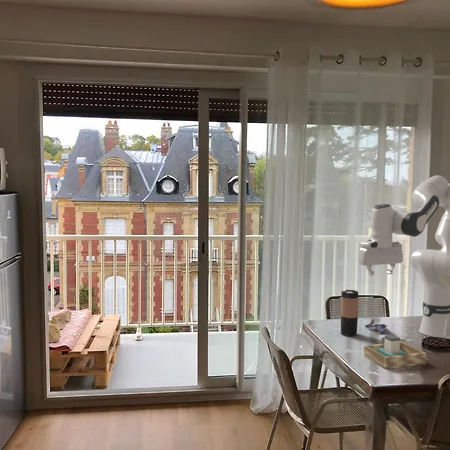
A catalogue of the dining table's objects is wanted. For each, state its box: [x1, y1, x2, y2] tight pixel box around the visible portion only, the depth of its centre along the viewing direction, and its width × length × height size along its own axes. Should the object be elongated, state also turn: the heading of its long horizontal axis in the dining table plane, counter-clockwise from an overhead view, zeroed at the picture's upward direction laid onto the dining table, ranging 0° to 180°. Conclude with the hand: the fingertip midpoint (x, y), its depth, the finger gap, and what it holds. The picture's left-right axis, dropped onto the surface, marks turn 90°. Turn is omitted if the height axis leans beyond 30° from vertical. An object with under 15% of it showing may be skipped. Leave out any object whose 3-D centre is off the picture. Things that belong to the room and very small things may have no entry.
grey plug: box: [380, 335, 407, 344], centre depth 198 cm, size 9×4×4 cm, turn 107°
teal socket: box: [378, 348, 406, 357], centre depth 181 cm, size 7×7×4 cm
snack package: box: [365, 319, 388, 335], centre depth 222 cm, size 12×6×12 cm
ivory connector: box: [384, 334, 400, 354], centre depth 181 cm, size 4×4×9 cm
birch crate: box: [363, 342, 427, 370], centre depth 182 cm, size 18×14×4 cm
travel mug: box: [340, 289, 359, 337], centre depth 215 cm, size 8×8×20 cm
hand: (380, 274), depth 200 cm, fingers open, 8 cm apart
